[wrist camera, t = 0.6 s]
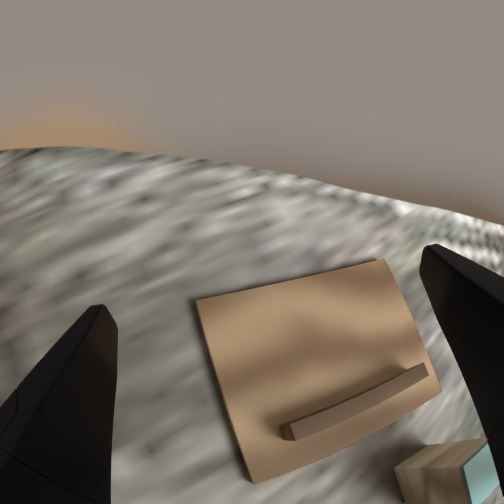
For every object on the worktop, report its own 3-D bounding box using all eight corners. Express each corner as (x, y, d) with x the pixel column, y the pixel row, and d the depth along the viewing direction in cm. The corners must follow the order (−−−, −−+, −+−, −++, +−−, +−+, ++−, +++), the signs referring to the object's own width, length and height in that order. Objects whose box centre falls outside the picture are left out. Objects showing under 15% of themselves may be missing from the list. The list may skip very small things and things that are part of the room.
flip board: (436, 393, 24) (459, 385, 21) (251, 482, 18) (262, 490, 15) (380, 262, 30) (397, 245, 28) (195, 304, 24) (197, 286, 22)
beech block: (437, 479, 20) (505, 476, 13) (405, 503, 18) (473, 510, 12) (426, 445, 21) (495, 435, 15) (393, 467, 20) (463, 466, 13)
